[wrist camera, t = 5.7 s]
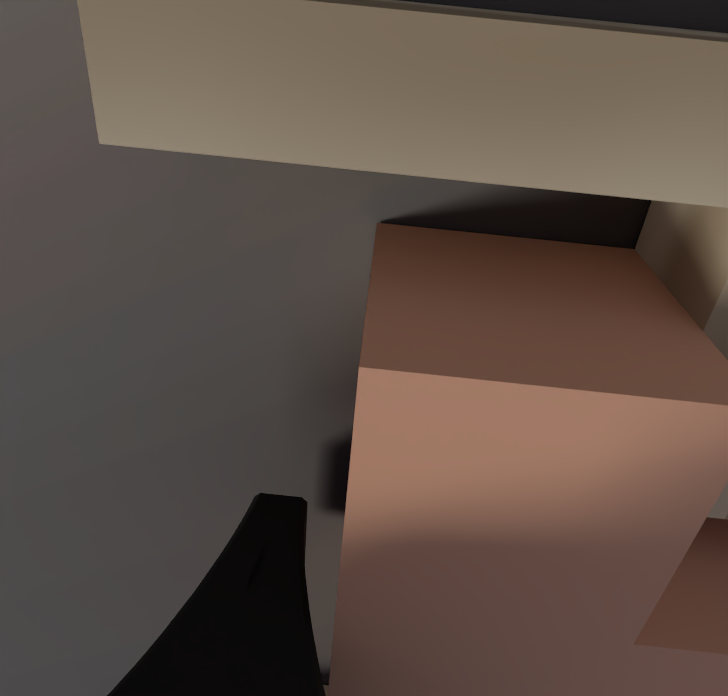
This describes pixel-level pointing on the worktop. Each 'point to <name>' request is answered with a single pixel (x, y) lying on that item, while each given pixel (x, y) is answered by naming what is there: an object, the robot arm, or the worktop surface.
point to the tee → (531, 477)
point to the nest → (440, 107)
